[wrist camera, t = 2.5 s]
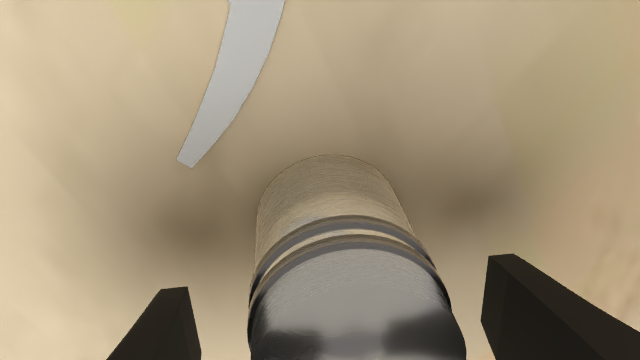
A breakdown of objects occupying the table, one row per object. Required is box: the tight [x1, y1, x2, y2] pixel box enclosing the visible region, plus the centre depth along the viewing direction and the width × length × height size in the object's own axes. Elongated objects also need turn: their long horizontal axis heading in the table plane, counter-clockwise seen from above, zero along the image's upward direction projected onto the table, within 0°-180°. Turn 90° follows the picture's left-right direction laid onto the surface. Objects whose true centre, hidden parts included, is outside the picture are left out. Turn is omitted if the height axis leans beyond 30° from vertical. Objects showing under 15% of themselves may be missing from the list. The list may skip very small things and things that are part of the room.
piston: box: [247, 155, 466, 360], centre depth 13 cm, size 5×5×6 cm
